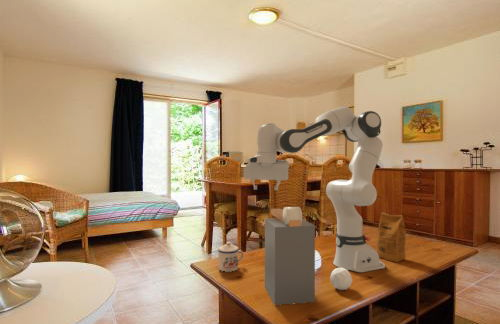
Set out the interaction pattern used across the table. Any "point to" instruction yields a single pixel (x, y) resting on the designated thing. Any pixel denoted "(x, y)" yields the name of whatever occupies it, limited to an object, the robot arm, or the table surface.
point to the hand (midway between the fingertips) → (265, 189)
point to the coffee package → (391, 237)
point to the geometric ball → (341, 278)
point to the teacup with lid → (229, 257)
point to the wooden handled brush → (289, 215)
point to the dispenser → (289, 262)
